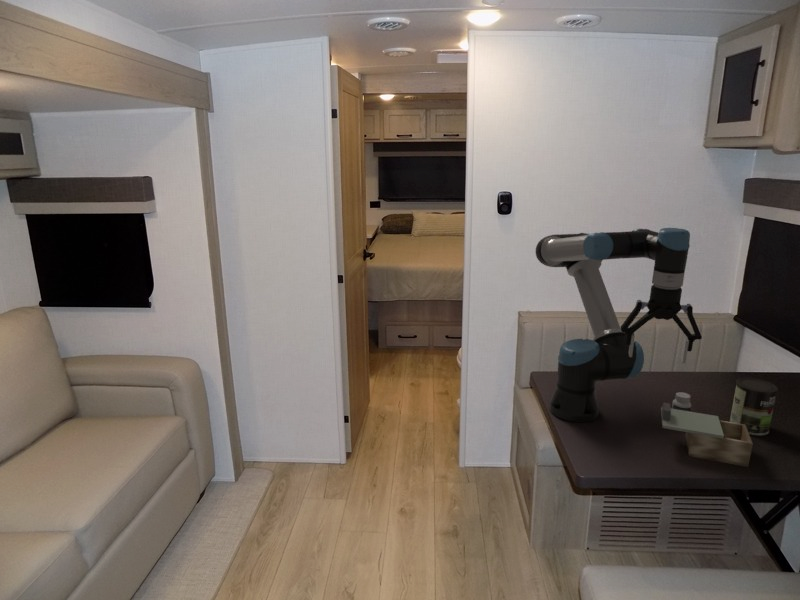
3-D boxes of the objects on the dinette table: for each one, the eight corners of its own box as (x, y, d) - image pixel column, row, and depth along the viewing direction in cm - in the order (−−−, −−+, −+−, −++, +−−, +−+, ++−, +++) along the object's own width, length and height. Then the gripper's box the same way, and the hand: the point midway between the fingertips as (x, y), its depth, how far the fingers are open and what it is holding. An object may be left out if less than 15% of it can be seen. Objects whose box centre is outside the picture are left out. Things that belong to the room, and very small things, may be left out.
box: (688, 455, 144) (692, 433, 142) (685, 436, 154) (688, 415, 152) (748, 467, 139) (752, 443, 137) (740, 446, 149) (745, 424, 147)
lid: (662, 427, 145) (664, 415, 144) (661, 409, 155) (662, 397, 154) (723, 438, 139) (725, 425, 138) (717, 418, 149) (719, 406, 148)
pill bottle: (691, 426, 160) (695, 399, 157) (672, 424, 161) (676, 398, 158) (685, 417, 165) (689, 391, 162) (667, 416, 166) (671, 390, 163)
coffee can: (777, 431, 156) (786, 388, 152) (754, 438, 152) (763, 394, 148) (743, 416, 165) (751, 374, 161) (721, 422, 161) (728, 380, 158)
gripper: (618, 285, 142) (609, 357, 148) (722, 293, 134) (708, 369, 141) (616, 279, 149) (608, 348, 155) (716, 286, 141) (703, 358, 147)
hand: (656, 358), depth 148 cm, fingers open, 13 cm apart
